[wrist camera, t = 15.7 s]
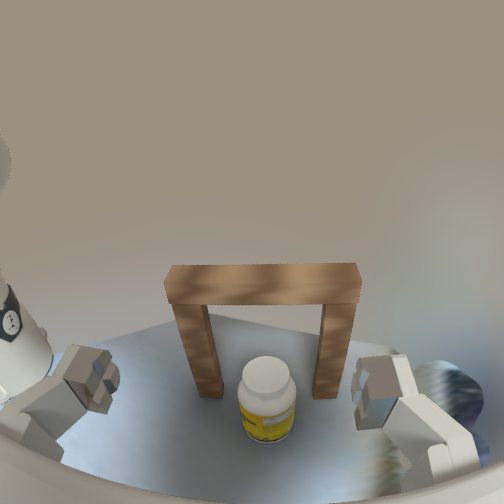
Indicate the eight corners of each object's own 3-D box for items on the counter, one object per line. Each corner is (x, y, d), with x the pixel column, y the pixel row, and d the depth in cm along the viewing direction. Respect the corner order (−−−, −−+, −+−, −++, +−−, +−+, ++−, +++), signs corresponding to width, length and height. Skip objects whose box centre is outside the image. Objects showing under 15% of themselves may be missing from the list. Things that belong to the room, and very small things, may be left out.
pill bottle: (237, 411, 36) (227, 358, 31) (283, 398, 38) (284, 343, 32) (251, 451, 31) (243, 405, 26) (300, 436, 33) (307, 387, 27)
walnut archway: (199, 399, 38) (163, 282, 28) (203, 382, 41) (172, 265, 31) (336, 401, 36) (362, 280, 27) (334, 383, 39) (355, 262, 29)
